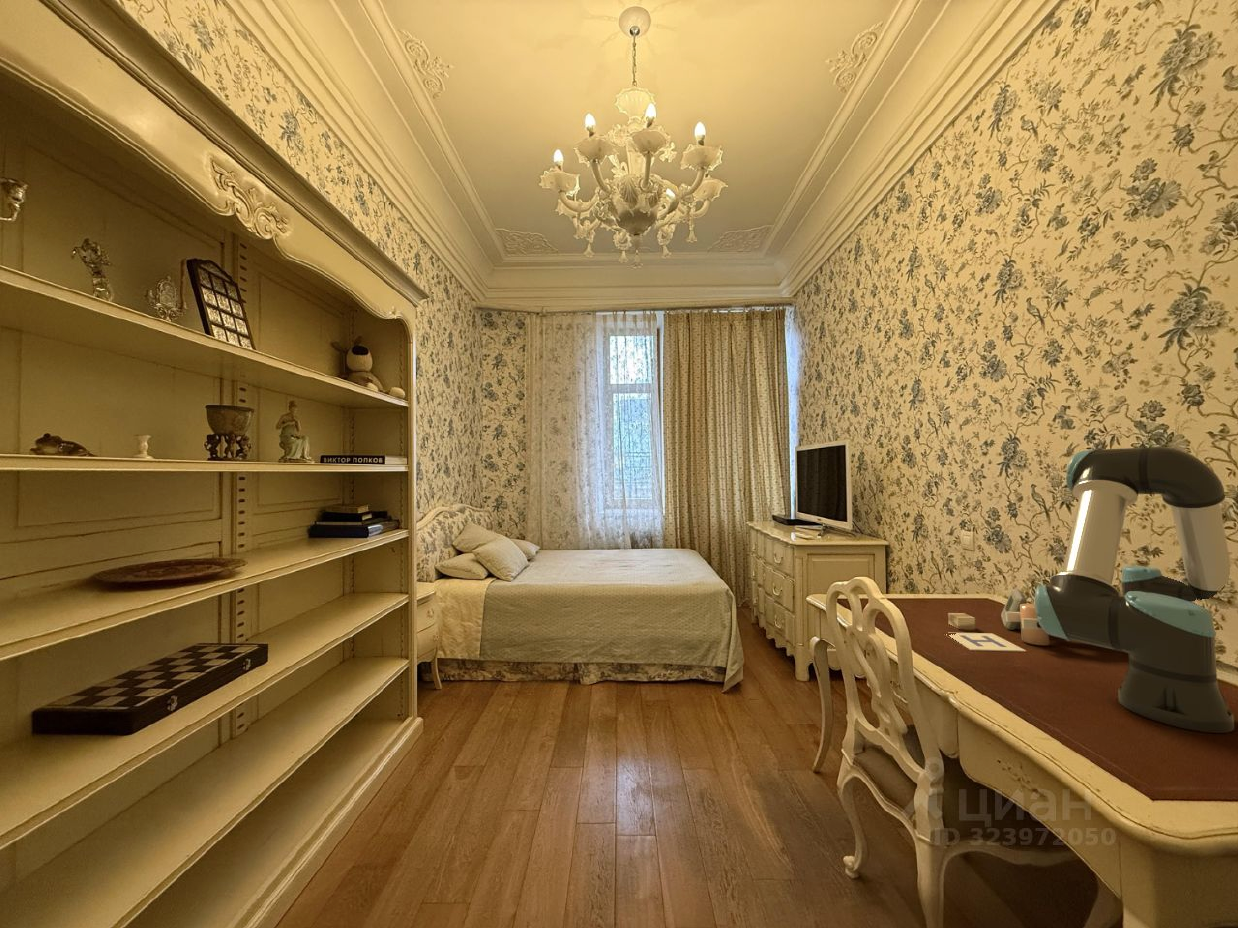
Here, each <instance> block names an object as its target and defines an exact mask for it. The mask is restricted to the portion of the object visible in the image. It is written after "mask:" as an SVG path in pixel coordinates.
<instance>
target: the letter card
mask: <svg viewBox="0 0 1238 928" xmlns="http://www.w3.org/2000/svg"><path fill="white" fill-rule="evenodd" d="M955 633H956V634H955V635H954V634H953V635H952V634H951V635H949V636H950V637H951V638H950V637H949V638H950V639H952V638H953V639H954V640H953V639H952V640H953V641H955V640H956V641H957V642H956V641H955V642H956V643H958V642H959V643H958V644H959V645H961V644H962V645H961V646H962V647H965V648H967V649H968V650H970V651H981V652H982V651H983V652H987V651H990V652H991V651H992V652H1025V653H1026V652H1027V650H1026V649H1024V648H1022V647H1020V646H1019V645H1015V644H1014V643H1012V642H1010V641H1008V640H1006V639H1005V638H1002V637H1000V636H999V635H996V634H994V633H990V632H989V633H987V632H986V633H985V632H983V633H982V632H980V633H979V632H955ZM945 636H947V634H946V635H945Z"/></svg>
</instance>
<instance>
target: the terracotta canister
mask: <svg viewBox="0 0 1238 928" xmlns="http://www.w3.org/2000/svg"><path fill="white" fill-rule="evenodd" d="M1020 618H1021V629H1020V639H1021V642H1024V643H1027V644H1030V645H1036V646H1049V645H1050V635H1049V634H1047V633H1046V632H1045V631H1044V630H1043V629H1023V628H1022V618H1025V619H1037V615H1036V610H1035V603H1034V604H1033V603H1027V604H1020Z"/></svg>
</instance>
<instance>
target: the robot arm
mask: <svg viewBox="0 0 1238 928" xmlns="http://www.w3.org/2000/svg"><path fill="white" fill-rule="evenodd" d="M1065 481H1066V482H1065V483H1066V487H1067V488H1068V490H1069V491H1070V492H1072V494H1073V496H1074V497H1075V498H1076V499H1077V500H1078V502H1077V504H1076V505H1077V506H1076V510H1075V513H1074V518H1073V522H1072V527H1071V530H1070V535H1069V539H1068V543H1067V548H1066V552H1065V556H1064V558H1063V559H1064V560H1063V564H1062V567H1061V568H1062V569H1061V572H1060V573H1056V574H1053V575H1052V576H1051V577H1050V581H1049V585H1047V584H1046V583H1045V584H1039V585H1038V586H1037V587H1035V588H1036V589H1035V591H1034V592H1035V593H1034V605H1035V610H1036V615H1037V619H1025V618H1022V628H1023V629H1043V630H1044V631H1045V632H1046V633H1047V634H1049V636H1053V637H1056V638H1060V639H1064V640H1066V641H1068V642H1071V641H1072V642H1076V643H1082V644H1086V645H1089V646H1090V645H1091V646H1094V647H1101V648H1103V649H1104V648H1105V649H1109V650H1115V651H1119V652H1123V653H1127V655H1128V668H1127V670H1126V673H1125V676H1124V678H1123V681H1122V684H1121V685H1120V686H1119V688H1118V690H1117V692H1118V703H1119V704H1121V705H1122V707H1123V708H1125V709H1127V710H1129V711H1130V712H1133V713H1135V714H1136V715H1139V716H1142V717H1144V718H1147V719H1150V720H1152V721H1154V722H1155V721H1156V722H1159V723H1161V724H1165V725H1169V726H1173V727H1177V728H1181V729H1185V730H1192V731H1197V732H1203V733H1211V734H1224V733H1231V732H1232V731H1234V730H1235V716H1234V714H1233V712H1232V711H1231V710H1230V709H1229V707H1228V703H1227V701H1226V699H1225V697H1224V694H1223V693H1222V691H1221V688H1220V687H1219V685H1218V675H1217V657H1216V656H1217V655H1216V638H1215V637H1216V636H1217V632H1216V630H1215V625H1214V618H1213V615H1212V613H1211V611H1208V610H1207V609H1205V608H1204V607H1202V606H1199V605H1197V604H1195V603H1192V602H1191V601H1195V600H1196V598H1197V600H1198V599H1200V600H1202V599H1209V598H1210V597H1213V596H1214V595H1215V594H1217V592H1218V591H1220V590H1221V589H1222V588H1223V587H1224V585H1225V584H1226V583H1227V581H1228V578H1229V575H1230V567H1232V563H1231V564H1230V562H1231V558H1230V552H1229V546H1228V540H1227V536H1226V532H1225V525H1224V521H1223V515H1222V510H1221V504H1222V503H1223V502H1224V501H1225V500H1226V494H1225V488H1224V485H1223V482H1222V481H1221V479H1220V478H1219V477H1218V475H1217V474H1216V473H1215V471H1213V469H1211V468H1210V467H1209V466H1208V464H1206V463H1204V462H1203V461H1202V460H1200V459H1199V458H1197V457H1195V456H1194V455H1192V454H1190V453H1188V452H1185V451H1184V450H1183V451H1182V450H1179V449H1176V448H1170V447H1166V446H1165V447H1164V446H1163V447H1162V446H1151V447H1135V448H1133V447H1131V448H1130V447H1129V448H1110V449H1109V448H1105V449H1104V448H1095V449H1091V450H1090V449H1089V450H1081V451H1079V452H1078V451H1077V452H1076V453H1075V454H1073V456H1072V457H1071V459H1070V460H1069V462H1068V464H1067V467H1066V476H1065ZM1139 495H1161V497H1162V498H1161V499H1162V501H1163V502H1164V503H1165V504H1166V505H1167V506H1170V509H1171V515H1172V519H1173V523H1174V527H1175V532H1176V536H1177V540H1178V546H1179V549H1180V555H1181V558H1182V562H1183V568H1184V572H1185V576H1186V579H1187V580H1188V586H1187V585H1185V584H1184V583H1182V582H1180V581H1177V580H1174V579H1171V578H1168V577H1169V576H1167V577H1165V576H1166V575H1163V574H1162V570H1160V569H1159V568H1157V567H1153V568H1151V567H1152V566H1151V567H1150V566H1146V565H1145V566H1143V565H1125V566H1124V567H1122V569H1121V580H1120V583H1121V590H1122V591H1121V592H1122V593H1120V591H1119V590H1118V588H1116V587H1115V586H1114V585H1113V579H1114V573H1115V569H1116V564H1117V558H1118V553H1119V549H1120V544H1121V537H1122V533H1123V527H1124V523H1125V518H1126V517H1125V516H1126V513H1127V507H1129V506H1132V505H1134V504H1135V503H1136V502H1137V501H1138V497H1139ZM1121 594H1122V596H1120V595H1121ZM1006 621H1008V622H1021V618H1020V612H1006Z"/></svg>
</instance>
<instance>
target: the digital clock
mask: <svg viewBox="0 0 1238 928" xmlns="http://www.w3.org/2000/svg"><path fill="white" fill-rule="evenodd" d="M1020 604H1028V600H1027V599H1026V597H1025V595H1024V592H1023V591H1022V590H1021V589H1019V588H1013V589H1012V590H1011V592H1010V594H1009V596H1008V598H1007V599H1006V603H1005V605H1004V607H1003V608H1002V612H1001V614H1000V615H1001V616H1000V617H1001V620H1002V623H1003V626H1004V627H1005V628H1006V629H1007V630H1010V631H1014V630H1021V622H1008V621H1006V612H1020Z"/></svg>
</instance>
